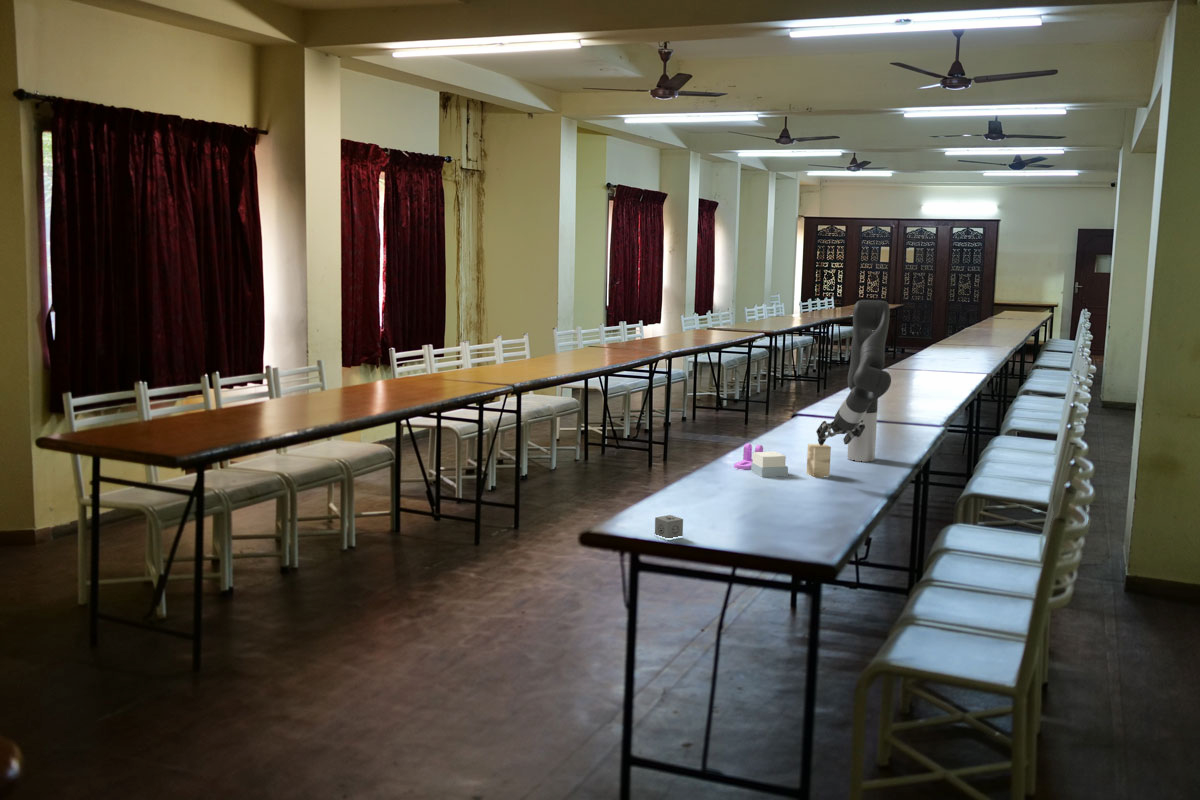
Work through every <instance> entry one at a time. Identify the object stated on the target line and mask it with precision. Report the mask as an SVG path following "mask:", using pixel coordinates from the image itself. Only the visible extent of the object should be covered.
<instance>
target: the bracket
mask: <svg viewBox="0 0 1200 800" xmlns="http://www.w3.org/2000/svg"><path fill="white" fill-rule="evenodd" d="M754 452H764V446H763V445H762V444H761V445H760V444H756V446H755V448H754ZM752 462H753V446H752V444H751V443H745V444H744V446H743V459H742V460H739V461H737V462H735V463H734V464H733V468H734V469H735V468H737V469H736V470H739V469H748V470H751V463H752Z"/></svg>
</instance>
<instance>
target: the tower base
mask: <svg viewBox="0 0 1200 800" xmlns="http://www.w3.org/2000/svg"><path fill="white" fill-rule="evenodd" d="M750 471H752V472H751V473H754V474H755V475H757V476H759V477H761V478H777V477H776V476H781V477H789V476H788V475H789V473H788V472H789V466H787V465H785V467H765V468H762V467H760V466H758V465H756V464H754V463H751V469H750Z"/></svg>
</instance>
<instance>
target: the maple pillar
mask: <svg viewBox="0 0 1200 800" xmlns="http://www.w3.org/2000/svg"><path fill="white" fill-rule="evenodd" d="M831 451H832V447H831V446H830V445H827V444H826V443H824V444H823V445H820V444H819V443H808V444H807V456H806V458H807V459H806V475H807V474H809V475H811V476H813V477H818V478H825V477H824V476H829V477H830V475H831V474H830V473H831V470H830V469H831V455H832V454H831ZM809 475H808V476H809ZM811 476H810V477H811ZM813 477H812V478H813Z"/></svg>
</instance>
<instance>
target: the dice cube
mask: <svg viewBox="0 0 1200 800" xmlns="http://www.w3.org/2000/svg"><path fill="white" fill-rule="evenodd" d="M655 534H656V535H659V536H662V537H665V538H673V537H678V536H683V534H684V519H683V518H682V517H679V516H676V515H672V514H668V515H663V516H658V517H655V518H654V535H655ZM683 537H684V536H683Z"/></svg>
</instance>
